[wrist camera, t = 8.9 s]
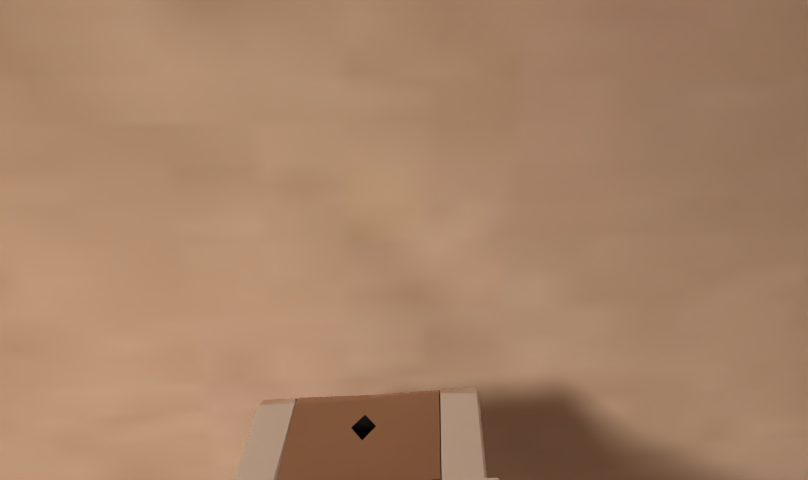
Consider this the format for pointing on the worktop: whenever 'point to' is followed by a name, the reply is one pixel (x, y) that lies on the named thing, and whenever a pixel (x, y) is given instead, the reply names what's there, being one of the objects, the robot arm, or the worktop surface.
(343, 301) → the worktop surface
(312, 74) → the worktop surface
